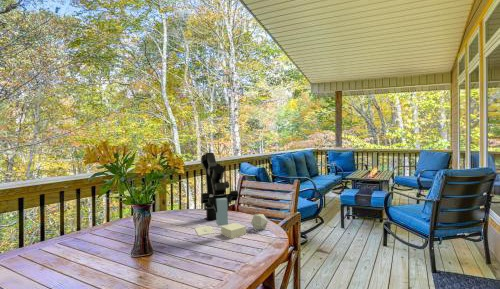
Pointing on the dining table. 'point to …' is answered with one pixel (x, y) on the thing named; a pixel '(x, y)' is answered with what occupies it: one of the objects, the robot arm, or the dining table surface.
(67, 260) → the dining table surface
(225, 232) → the base brick
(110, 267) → the dining table surface
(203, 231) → the plate
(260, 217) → the die
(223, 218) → the blue brick
